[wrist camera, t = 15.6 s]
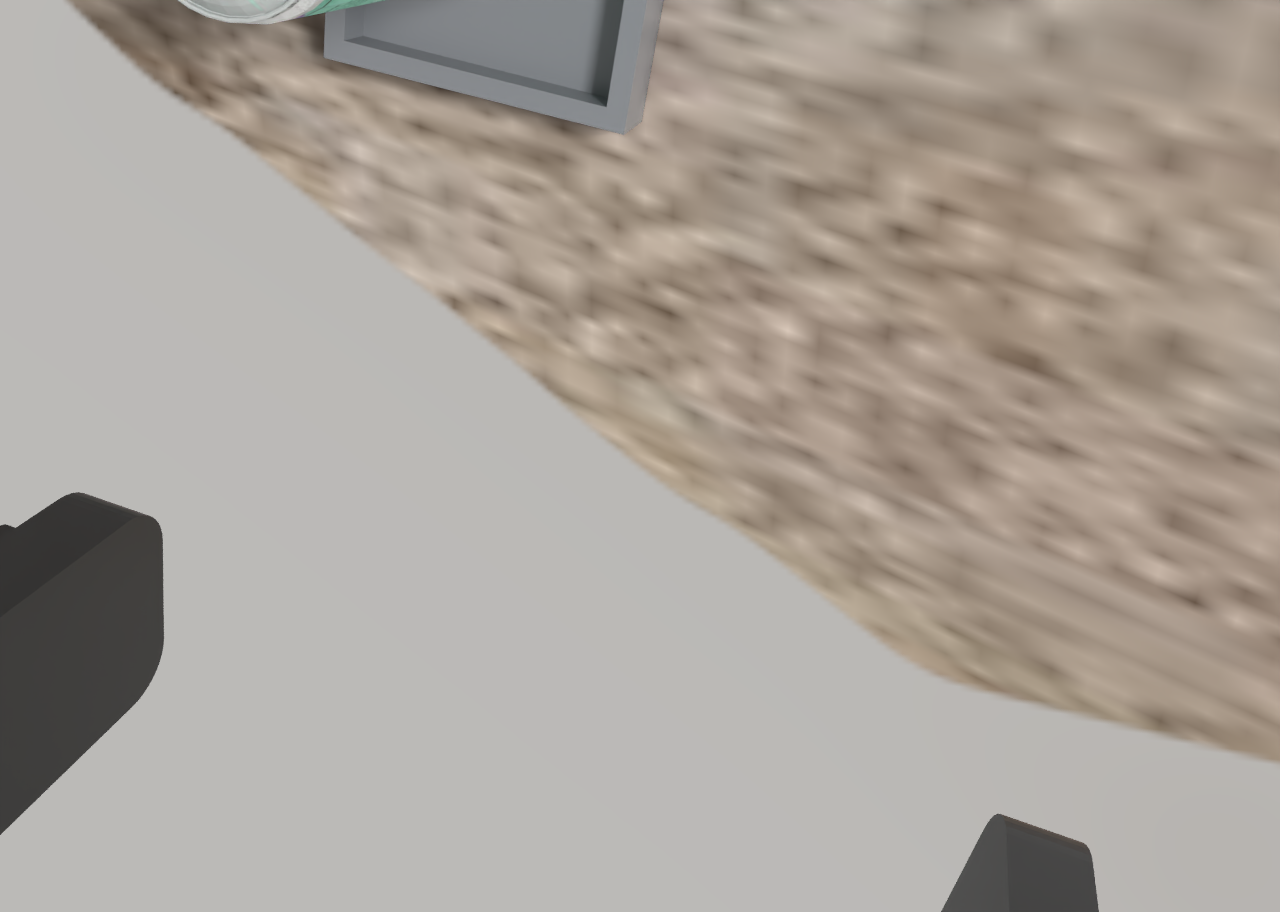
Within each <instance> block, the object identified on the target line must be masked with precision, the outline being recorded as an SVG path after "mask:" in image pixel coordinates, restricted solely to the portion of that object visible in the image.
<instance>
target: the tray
mask: <svg viewBox="0 0 1280 912" xmlns="http://www.w3.org/2000/svg"><path fill="white" fill-rule="evenodd" d="M663 1H664V0H385V1H380V2H375V3H370V4H365V5H360V6H355V7H350V8H345V9H341V10H336V11H331V12H326V13H325V36H324V58H327V59H330V60H334V61H338V62H342V63H346V64H350V65H354V66H358V67H362V68H366V69H369V70H373V71H377V72H381V73H385V74H389V75H393V76H397V77H401V78H405V79H408V80H412V81H416V82H420V83H424V84H428V85H432V86H436V87H440V88H444V89H447V90H451V91H455V92H459V93H463V94H467V95H471V96H475V97H479V98H483V99H486V100H490V101H494V102H498V103H502V104H506V105H510V106H514V107H518V108H522V109H525V110H529V111H533V112H537V113H541V114H545V115H549V116H553V117H557V118H561V119H564V120H568V121H572V122H576V123H580V124H584V125H588V126H592V127H596V128H600V129H603V130H607V131H611V132H615V133H619V134H623V135H624V134H625V133H627V132H628V131H630V130H631V129H632V128H634V127H635V126H636V125H638V124H639V123H641V122H642V117H643V111H644V106H645V100H646V95H647V89H648V84H649V78H650V73H651V67H652V62H653V56H654V51H655V45H656V39H657V34H658V28H659V23H660V17H661V12H662V6H663Z"/></svg>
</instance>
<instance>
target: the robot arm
mask: <svg viewBox="0 0 1280 912" xmlns="http://www.w3.org/2000/svg"><path fill="white" fill-rule="evenodd" d="M163 642H164V615H163V539H162V532H161V528H160V525H159V523H158V522H157V521H156V520H155V519H154V518H153V517H151V516H148V515H145V514H142V513H139V512H137V511H134V510H131V509H128V508H125V507H122V506H119V505H116V504H113V503H111V502H107V501H105V500H102V499H99V498H96V497H93V496H90V495H87V494H85V493H79V492H78V493H71V494H69V495H66V496H64V497H62V498H60V499H59V500H57V501H56V502H54V503H53V504H51V505H50V506H48V507H47V508H45V509H44V510H42V511H41V512H39V513H38V514H36V515H35V516H33V517H32V518H30V519H28V520H27V521H25V522H24V523H22V524H21V525H19V526H18V527H16V528H14V527H11V526H8V525H1V526H0V835H1V834H2V833H3V832H4V831H5V830H6V829H7V828H8V827H9V826H10V825H11V824H12V823H13V822H14V821H15V820H16V819H17V818H18V817H19V816H20V815H21V814H22V813H23V812H24V811H25V810H26V809H27V808H28V807H29V806H30V805H31V804H32V803H33V802H35V801H36V800H37V799H38V798H39V797H40V796H41V795H42V794H43V793H44V792H45V791H46V790H47V789H48V788H49V787H50V786H51V785H52V784H53V783H54V782H55V781H56V780H57V779H58V778H59V777H60V776H61V775H62V774H63V773H64V772H65V771H66V770H67V769H69V768H70V766H72V765H73V764H74V763H75V762H76V761H77V760H78V759H79V758H80V757H81V756H82V755H83V754H84V753H85V752H86V751H87V750H88V749H89V748H90V747H91V746H92V745H93V744H94V743H95V742H96V741H97V740H98V739H99V738H100V737H102V736H103V734H104V733H106V732H107V731H108V730H109V729H110V728H111V727H112V726H113V725H114V724H115V723H116V722H117V721H118V720H119V719H120V718H121V717H122V716H123V715H124V714H125V713H126V712H127V711H128V710H129V709H130V708H131V707H132V706H133V705H134V704H135V703H136V702H137V701H138V700H139V699H140V697H141V696H142V695H143V693H144V692H145V690H146V689H147V687H148V686H149V684H150V682H151V680H152V678H153V676H154V674H155V672H156V670H157V667H158V665H159V662H160V658H161V655H162V650H163ZM941 912H1099V910H1098V902H1097V894H1096V886H1095V877H1094V869H1093V862H1092V856H1091V853H1090V850H1089V848H1088V847H1087V845H1085V844H1084V843H1082V842H1079V841H1076V840H1073V839H1071V838H1067V837H1065V836H1062V835H1059V834H1056V833H1053V832H1050V831H1047V830H1045V829H1042V828H1039V827H1036V826H1033V825H1030V824H1027V823H1024V822H1021V821H1019V820H1016V819H1013V818H1010V817H1007V816H1004V815H1001V814H996V815H994V816H993V817H992V818H991V819H990V821H989V822H988V823H987V825H986V827H985V829H984V830H983V832H982V834H981V836H980V838H979V840H978V842H977V844H976V846H975V848H974V850H973V851H972V853H971V855H970V857H969V859H968V861H967V863H966V865H965V867H964V869H963V871H962V873H961V875H960V877H959V878H958V881H957V882H956V884H955V886H954V888H953V890H952V892H951V894H950V896H949V898H948V900H947V902H946V904H945V905H944V908H943V910H942V911H941Z"/></svg>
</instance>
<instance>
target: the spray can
mask: <svg viewBox="0 0 1280 912" xmlns="http://www.w3.org/2000/svg"><path fill="white" fill-rule="evenodd" d="M178 1H179V2H181V3H182V4H183V5H185V6H186V7H187V8H189V9H191V10H193V11H195V12H197V13H199V14H202V15H204V16H206V17H208V18H212V19H216V20H219V21H223V22H227V23H247V24H272V23H277V22H282V21H287V20H292V19H297V18H301V17H306V16H311V15H316V14H321V13H326V12H331V11H336V10H341V9H345V8H350V7H355V6H360V5H365V4H370V3H375V2H380V1H385V0H178Z"/></svg>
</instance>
